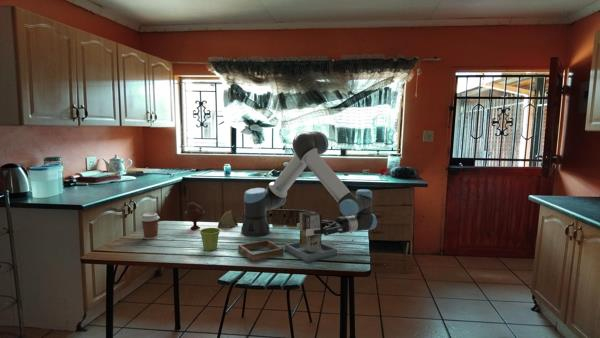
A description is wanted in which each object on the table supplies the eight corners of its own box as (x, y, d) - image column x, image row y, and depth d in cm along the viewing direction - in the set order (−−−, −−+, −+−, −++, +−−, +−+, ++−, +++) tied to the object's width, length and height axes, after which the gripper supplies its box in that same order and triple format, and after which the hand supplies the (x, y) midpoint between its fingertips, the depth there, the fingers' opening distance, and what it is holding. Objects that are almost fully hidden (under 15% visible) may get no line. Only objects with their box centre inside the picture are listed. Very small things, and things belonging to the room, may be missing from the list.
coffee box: (322, 249, 160) (322, 214, 158) (309, 252, 157) (310, 215, 155) (311, 244, 168) (311, 210, 166) (299, 246, 164) (299, 211, 163)
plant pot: (224, 246, 171) (224, 228, 170) (213, 253, 162) (213, 234, 161) (207, 244, 174) (207, 226, 173) (195, 250, 165) (195, 232, 164)
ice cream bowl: (199, 231, 195) (199, 204, 193) (181, 230, 197) (180, 203, 195) (208, 226, 205) (208, 200, 203) (190, 225, 207) (189, 199, 206)
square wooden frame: (238, 251, 164) (238, 244, 164) (267, 245, 172) (267, 239, 172) (252, 261, 152) (252, 254, 152) (283, 255, 160) (283, 248, 160)
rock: (213, 224, 201) (228, 223, 198) (216, 210, 206) (231, 209, 202) (222, 231, 210) (237, 231, 207) (225, 218, 214) (240, 217, 211)
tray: (285, 250, 166) (285, 244, 165) (313, 244, 174) (313, 238, 174) (306, 263, 151) (306, 256, 150) (336, 255, 159) (337, 249, 159)
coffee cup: (139, 236, 186) (138, 213, 184) (157, 233, 191) (156, 211, 190) (143, 241, 178) (142, 217, 177) (162, 237, 184) (161, 214, 183)
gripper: (358, 239, 158) (312, 245, 150) (334, 226, 179) (292, 231, 170) (358, 222, 157) (312, 227, 149) (334, 211, 178) (292, 215, 169)
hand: (301, 229), depth 159 cm, fingers closed on coffee box, 9 cm apart
